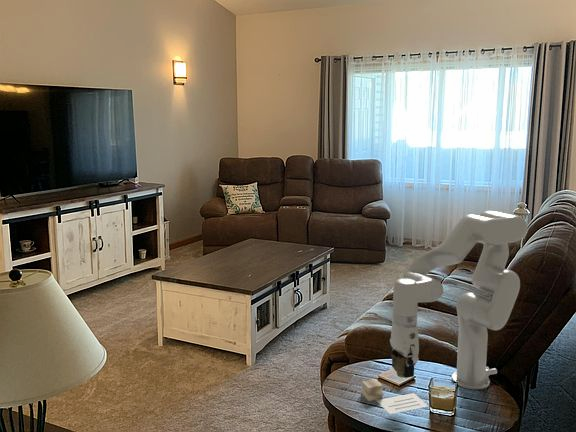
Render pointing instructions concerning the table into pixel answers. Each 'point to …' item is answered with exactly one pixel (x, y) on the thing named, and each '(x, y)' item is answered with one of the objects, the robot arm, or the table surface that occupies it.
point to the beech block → (372, 389)
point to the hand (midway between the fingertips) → (402, 371)
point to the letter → (402, 403)
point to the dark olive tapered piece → (399, 363)
